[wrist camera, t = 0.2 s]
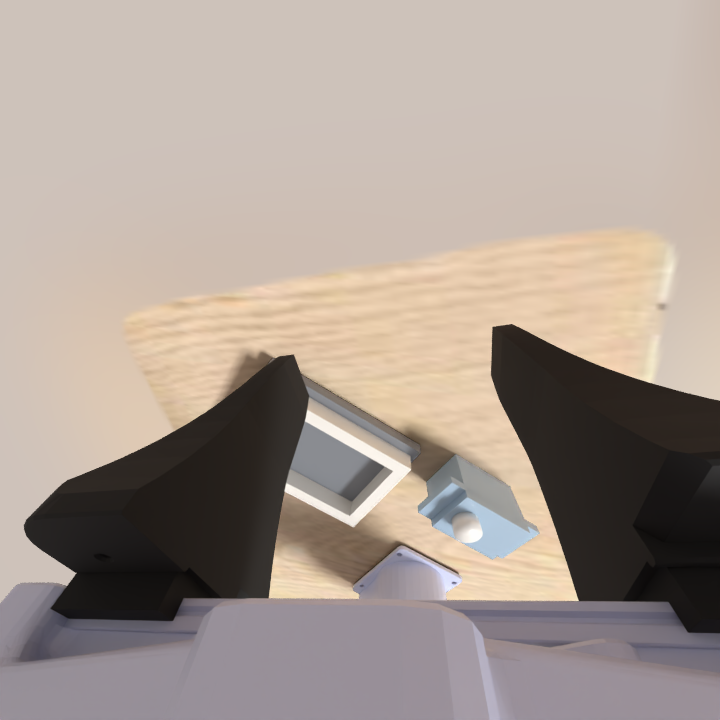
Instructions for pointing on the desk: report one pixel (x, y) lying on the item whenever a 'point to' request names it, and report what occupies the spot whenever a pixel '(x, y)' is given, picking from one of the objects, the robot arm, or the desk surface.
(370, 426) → the board
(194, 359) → the desk surface
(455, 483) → the block
